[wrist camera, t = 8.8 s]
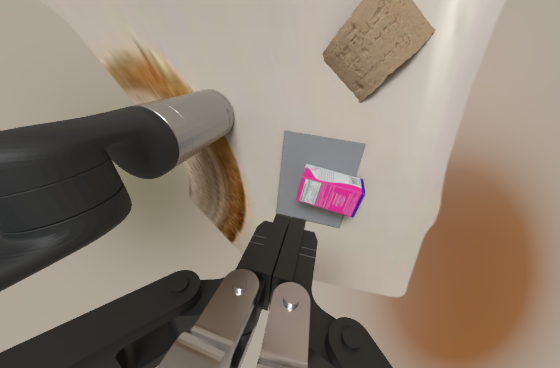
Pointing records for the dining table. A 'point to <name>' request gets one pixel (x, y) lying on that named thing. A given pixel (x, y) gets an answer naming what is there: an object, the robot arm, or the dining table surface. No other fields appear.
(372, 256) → the dining table surface
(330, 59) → the clay tablet
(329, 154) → the rubber mat
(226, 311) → the robot arm
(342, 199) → the supplement box
